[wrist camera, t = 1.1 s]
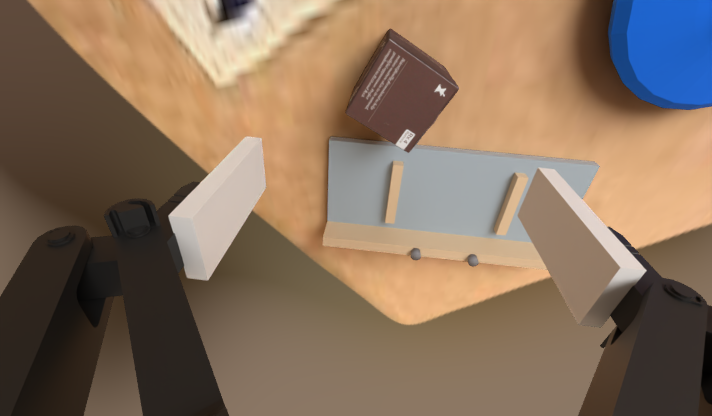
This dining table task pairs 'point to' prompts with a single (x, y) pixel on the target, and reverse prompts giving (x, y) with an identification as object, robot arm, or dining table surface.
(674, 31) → the blue knobbed lid
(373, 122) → the box
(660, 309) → the robot arm
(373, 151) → the board
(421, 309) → the dining table surface
